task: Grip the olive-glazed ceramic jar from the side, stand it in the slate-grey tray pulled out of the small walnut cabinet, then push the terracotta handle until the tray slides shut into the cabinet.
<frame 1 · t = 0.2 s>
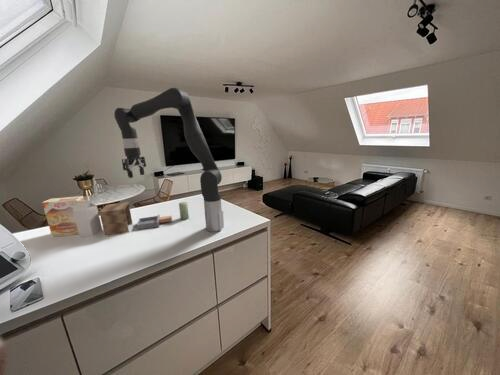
hand: (136, 176, 113), 29 cm above the countertop, tool pointing down, fingers open, 8 cm apart
tray: (155, 221, 119), point 2 cm above the countertop, slide at 14.0 cm
jar: (184, 218, 126), on the countertop
milk carton: (91, 234, 108), on the countertop
cabinet: (119, 229, 113), on the countertop
coffeecake box: (72, 232, 110), on the countertop
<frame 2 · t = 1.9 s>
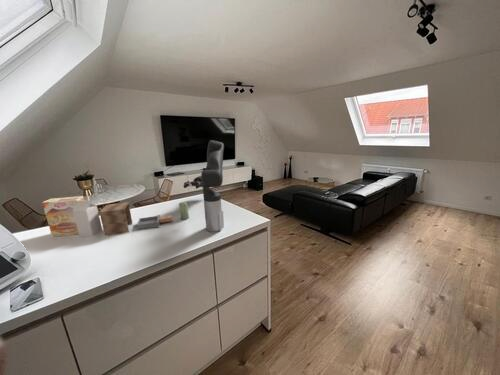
hand: (190, 186, 132), 18 cm above the countertop, tool horizontal, fingers open, 8 cm apart
nothing on the countertop moved.
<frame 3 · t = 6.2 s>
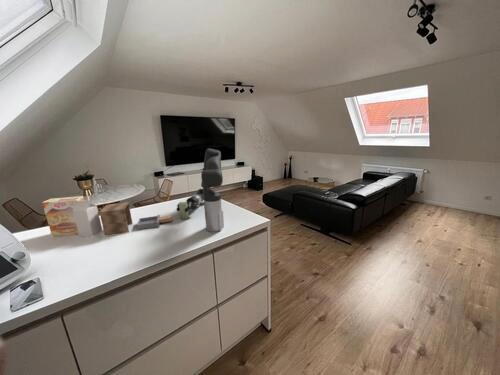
hand: (181, 210, 122), 7 cm above the countertop, tool horizontal, fingers closed on jar, 5 cm apart
jar: (184, 218, 126), on the countertop, touching gripper
everything else where it was.
when the fingers open (9 cm above the countertop, at t = 11.1 s): jar drops 1 cm, resting on tray.
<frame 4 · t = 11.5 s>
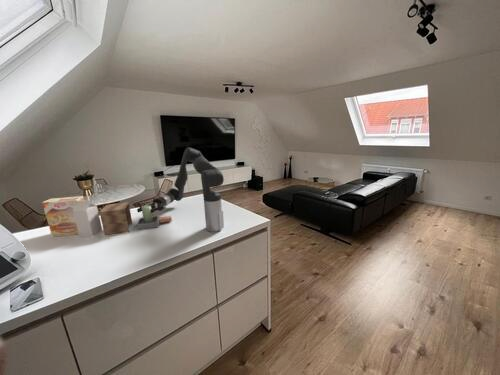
hand: (144, 211, 114), 9 cm above the countertop, tool horizontal, fingers open, 8 cm apart
tray: (155, 221, 119), point 2 cm above the countertop, slide at 14.0 cm, touching jar
jar: (148, 222, 118), point 1 cm above the countertop, touching tray
everything else where it was.
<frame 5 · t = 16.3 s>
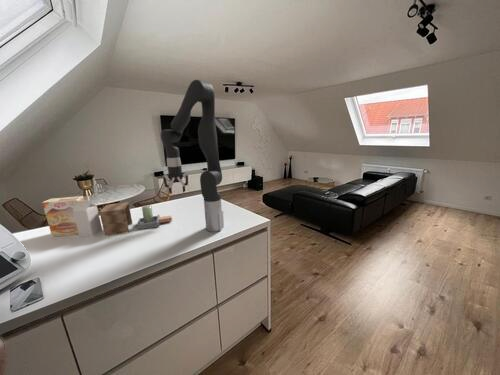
hand: (177, 192, 119), 18 cm above the countertop, tool pointing down, fingers open, 6 cm apart
nothing on the countertop moved.
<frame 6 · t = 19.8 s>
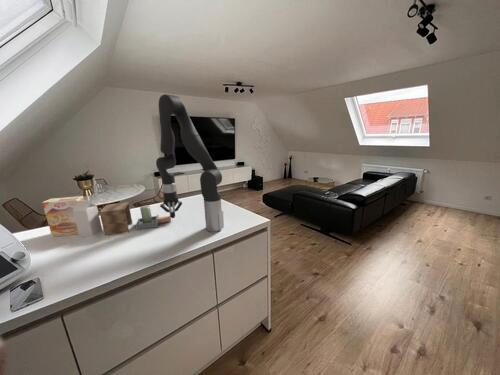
hand: (173, 217, 122), 2 cm above the countertop, tool pointing down, fingers closed
tray: (154, 221, 118), point 2 cm above the countertop, slide at 13.4 cm, touching gripper, jar
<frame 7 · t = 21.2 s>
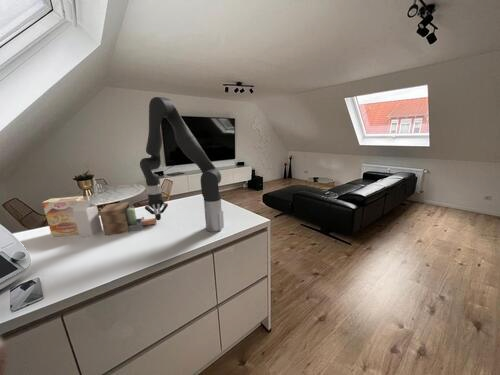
hand: (158, 219, 119), 2 cm above the countertop, tool pointing down, fingers closed
tray: (139, 223, 116), point 2 cm above the countertop, slide at 5.3 cm, touching gripper, jar
jar: (132, 225, 115), point 1 cm above the countertop, touching tray
everything else where it was.
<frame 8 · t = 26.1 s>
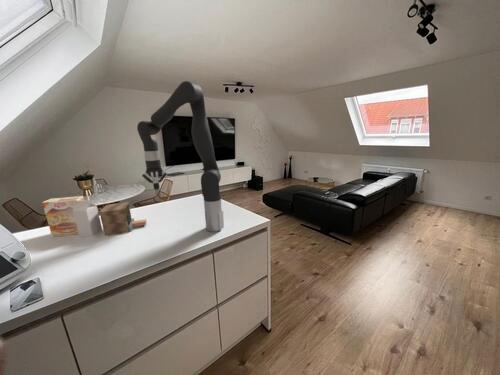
hand: (156, 189, 115), 21 cm above the countertop, tool pointing down, fingers closed
tray: (128, 225, 114), point 2 cm above the countertop, slide at 0.0 cm, touching jar
jar: (121, 226, 113), point 1 cm above the countertop, touching tray
everything else where it was.
at the end: tray slide at 0.0 cm; jar inside the target area on the cabinet (0.3 cm from its centre), point 1.3 cm above the cabinet's base; jar tilted 1° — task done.
